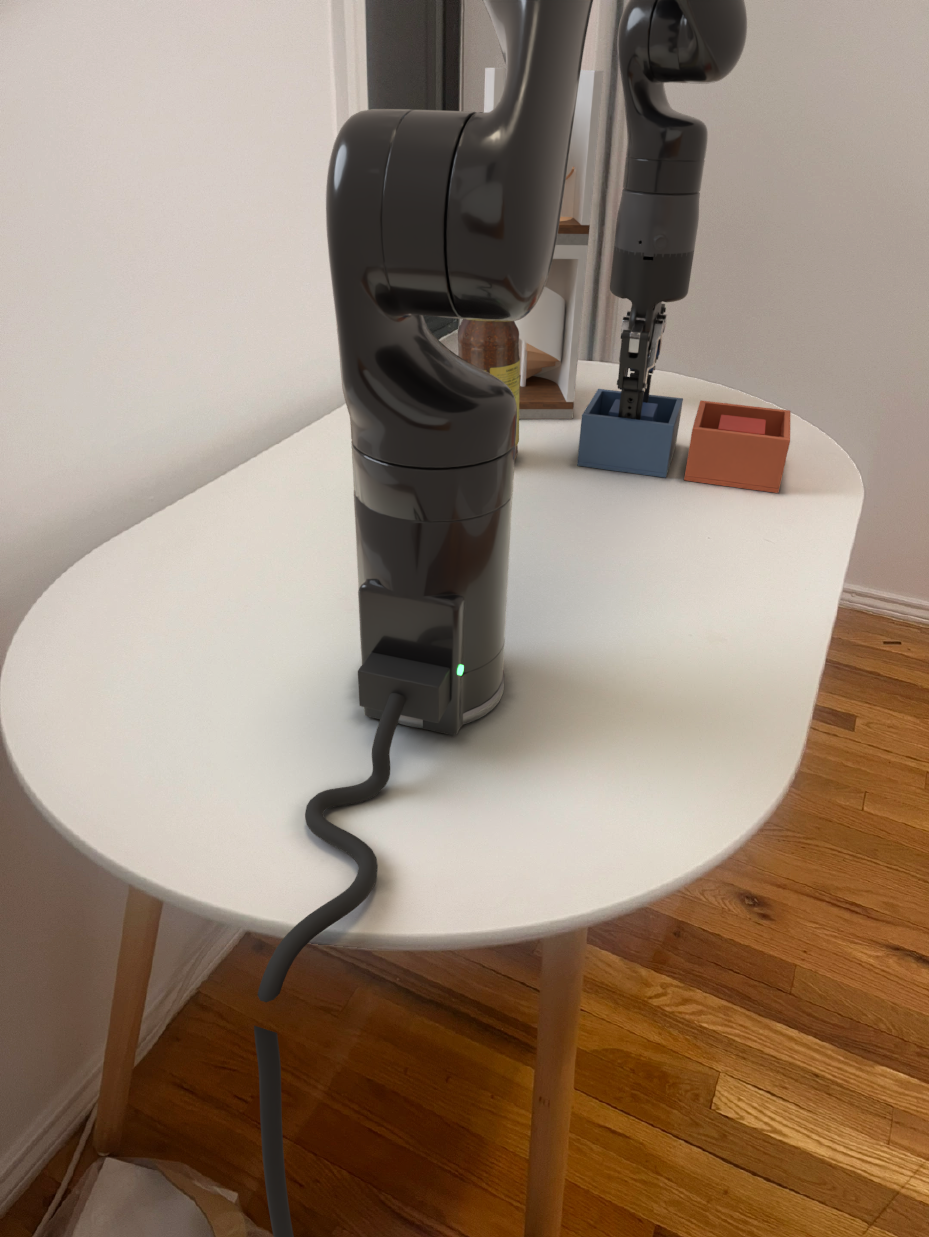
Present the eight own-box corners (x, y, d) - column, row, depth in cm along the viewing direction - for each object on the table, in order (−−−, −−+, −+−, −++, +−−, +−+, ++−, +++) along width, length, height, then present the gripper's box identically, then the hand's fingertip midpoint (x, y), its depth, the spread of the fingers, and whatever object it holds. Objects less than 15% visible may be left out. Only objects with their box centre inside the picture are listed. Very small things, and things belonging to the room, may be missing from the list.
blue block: (647, 458, 92) (653, 416, 89) (604, 453, 93) (608, 411, 90) (652, 444, 95) (658, 403, 93) (611, 439, 97) (615, 399, 94)
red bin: (778, 493, 87) (790, 440, 84) (683, 480, 89) (692, 428, 86) (779, 460, 94) (790, 410, 92) (692, 449, 97) (700, 400, 94)
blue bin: (665, 478, 90) (673, 426, 87) (576, 465, 92) (581, 414, 89) (675, 447, 97) (683, 398, 94) (593, 436, 99) (598, 388, 96)
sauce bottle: (519, 449, 96) (529, 254, 85) (516, 471, 90) (527, 266, 80) (459, 446, 96) (462, 251, 85) (452, 468, 91) (455, 263, 80)
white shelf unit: (476, 388, 113) (485, 67, 95) (558, 388, 114) (583, 70, 95) (483, 418, 104) (494, 68, 85) (572, 418, 104) (603, 71, 86)
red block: (755, 476, 89) (765, 434, 87) (710, 470, 90) (718, 428, 88) (757, 460, 93) (765, 419, 90) (713, 455, 94) (721, 414, 92)
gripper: (626, 229, 90) (608, 393, 99) (601, 252, 78) (584, 435, 87) (701, 235, 88) (676, 401, 97) (687, 259, 76) (660, 445, 85)
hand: (632, 416), depth 92 cm, fingers open, 5 cm apart
